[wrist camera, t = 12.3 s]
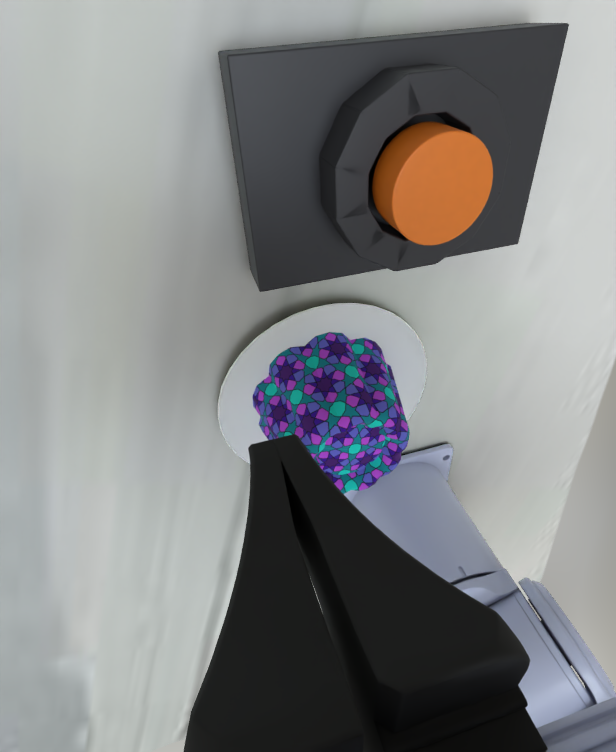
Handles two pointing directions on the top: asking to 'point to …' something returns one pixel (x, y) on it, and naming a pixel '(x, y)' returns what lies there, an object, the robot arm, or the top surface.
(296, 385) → the pudding
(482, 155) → the button
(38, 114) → the top surface
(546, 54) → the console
